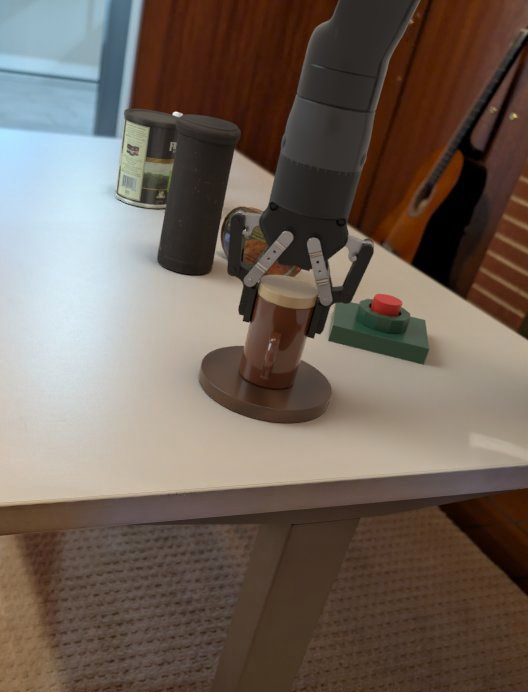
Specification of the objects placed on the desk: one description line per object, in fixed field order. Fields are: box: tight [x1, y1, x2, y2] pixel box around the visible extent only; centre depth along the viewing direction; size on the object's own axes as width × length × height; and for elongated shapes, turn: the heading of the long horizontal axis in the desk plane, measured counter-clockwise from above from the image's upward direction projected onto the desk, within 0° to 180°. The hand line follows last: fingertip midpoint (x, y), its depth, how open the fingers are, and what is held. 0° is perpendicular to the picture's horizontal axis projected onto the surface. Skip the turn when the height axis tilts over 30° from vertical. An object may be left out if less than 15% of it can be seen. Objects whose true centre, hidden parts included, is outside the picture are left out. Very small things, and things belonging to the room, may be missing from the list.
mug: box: [239, 275, 319, 389], centre depth 76 cm, size 8×6×10 cm
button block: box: [327, 298, 430, 365], centre depth 97 cm, size 12×10×4 cm
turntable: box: [198, 345, 333, 424], centre depth 80 cm, size 14×14×2 cm
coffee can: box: [114, 108, 179, 210], centre depth 130 cm, size 10×10×14 cm
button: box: [370, 293, 403, 317], centre depth 95 cm, size 4×4×2 cm
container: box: [156, 113, 242, 275], centre depth 103 cm, size 9×9×20 cm
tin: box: [220, 205, 302, 278], centre depth 110 cm, size 15×3×8 cm, turn 43°
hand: (278, 326), depth 76 cm, fingers closed on mug, 6 cm apart
